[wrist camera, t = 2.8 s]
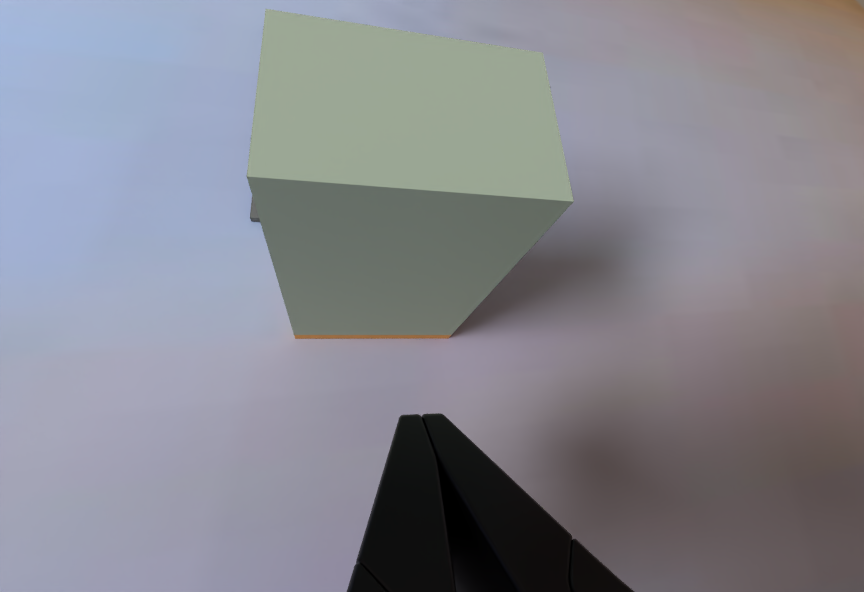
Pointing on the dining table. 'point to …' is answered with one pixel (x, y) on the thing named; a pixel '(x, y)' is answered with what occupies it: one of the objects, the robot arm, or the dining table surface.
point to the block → (398, 173)
